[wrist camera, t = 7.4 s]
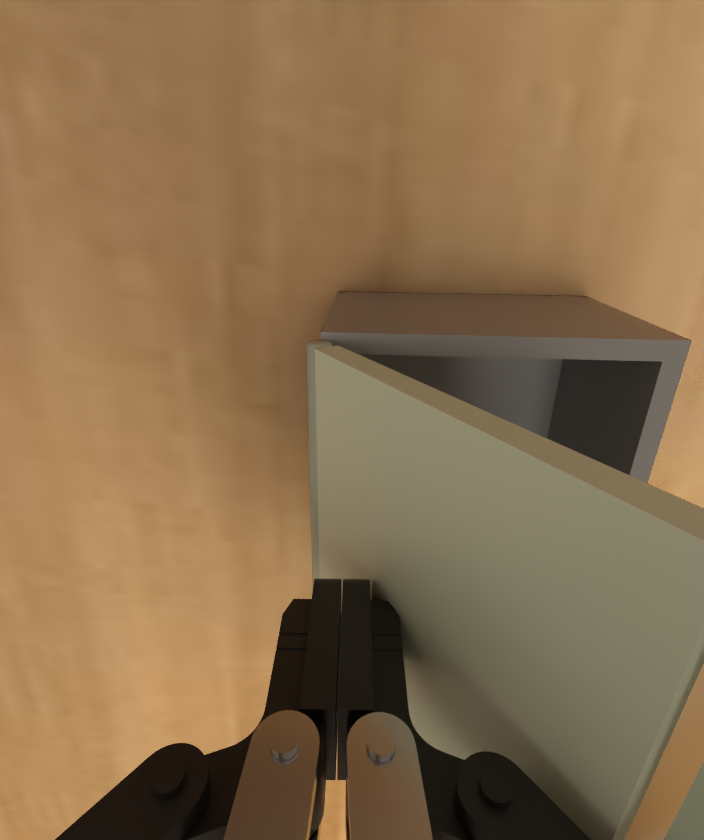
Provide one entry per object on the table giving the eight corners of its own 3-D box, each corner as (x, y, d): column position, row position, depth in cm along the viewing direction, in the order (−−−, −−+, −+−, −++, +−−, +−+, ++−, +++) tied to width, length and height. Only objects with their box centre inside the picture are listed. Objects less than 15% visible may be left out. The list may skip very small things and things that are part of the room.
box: (338, 291, 19) (320, 332, 13) (585, 296, 19) (691, 340, 13) (338, 546, 25) (325, 663, 18) (531, 553, 24) (587, 675, 18)
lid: (351, 335, 14) (301, 342, 13) (921, 562, 5) (875, 625, 4) (347, 648, 19) (311, 667, 18) (626, 1025, 10) (581, 1093, 9)
